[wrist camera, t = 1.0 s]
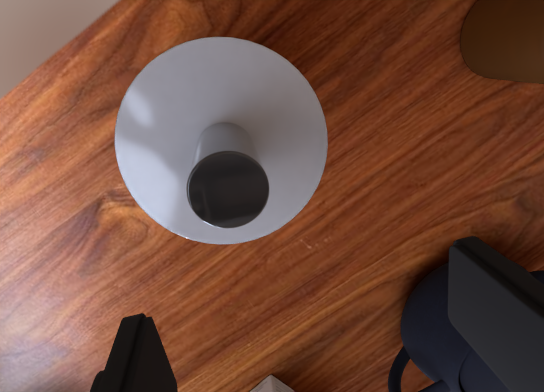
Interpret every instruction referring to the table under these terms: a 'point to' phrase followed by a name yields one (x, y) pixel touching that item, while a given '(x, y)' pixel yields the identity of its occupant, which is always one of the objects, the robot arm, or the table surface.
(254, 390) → the ink box
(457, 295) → the robot arm
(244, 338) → the table surface
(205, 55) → the lid
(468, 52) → the mug
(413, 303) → the teapot
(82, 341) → the table surface
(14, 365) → the table surface
